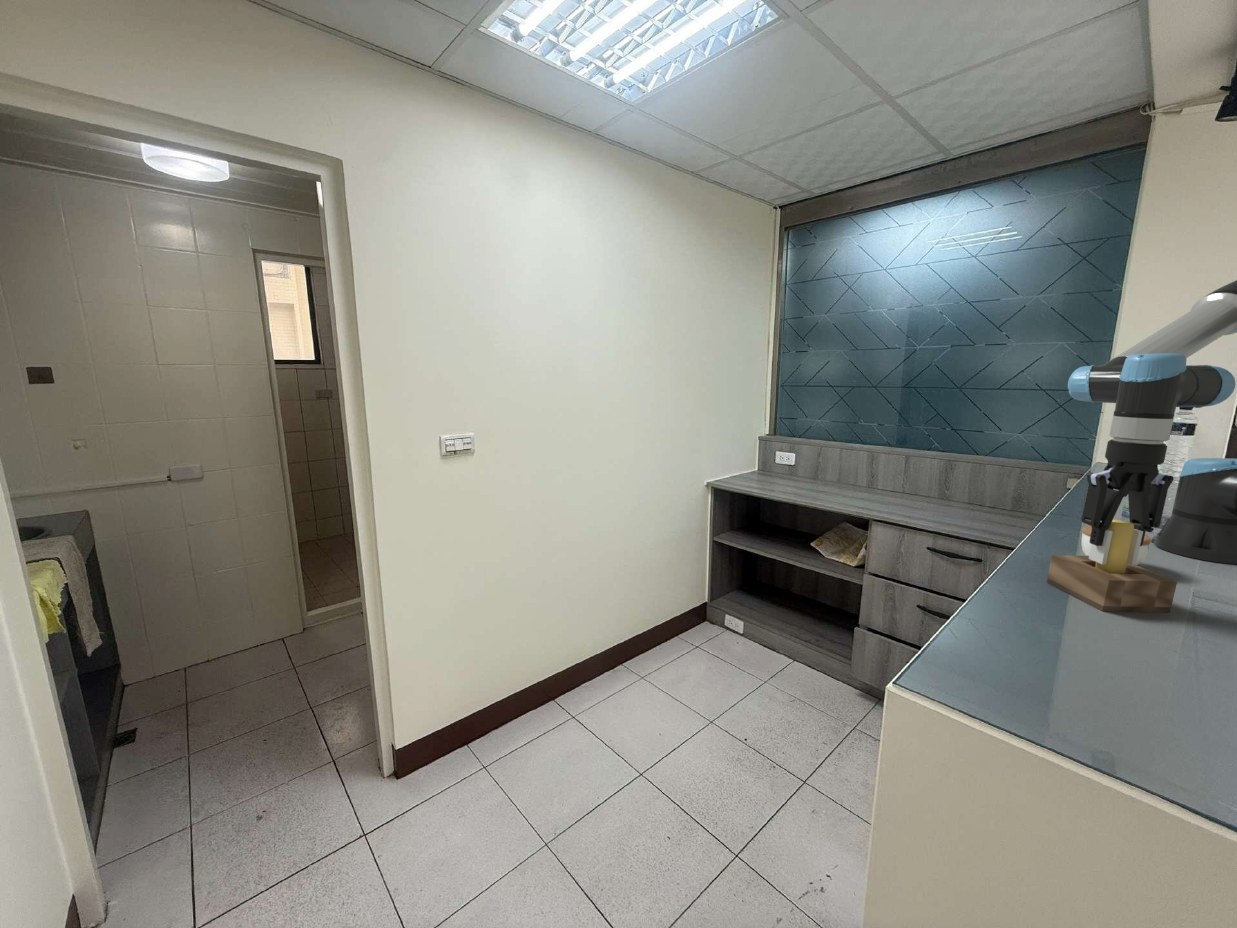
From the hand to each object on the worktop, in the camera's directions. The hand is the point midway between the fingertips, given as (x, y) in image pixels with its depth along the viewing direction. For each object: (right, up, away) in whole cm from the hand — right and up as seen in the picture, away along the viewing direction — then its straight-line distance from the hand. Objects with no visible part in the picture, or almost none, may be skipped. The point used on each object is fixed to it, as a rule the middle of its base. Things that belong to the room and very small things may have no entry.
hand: (1111, 561), depth 93 cm
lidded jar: (+16, -4, +17) cm, 24 cm away
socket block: (0, -7, +1) cm, 7 cm away
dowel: (0, -6, +1) cm, 6 cm away
